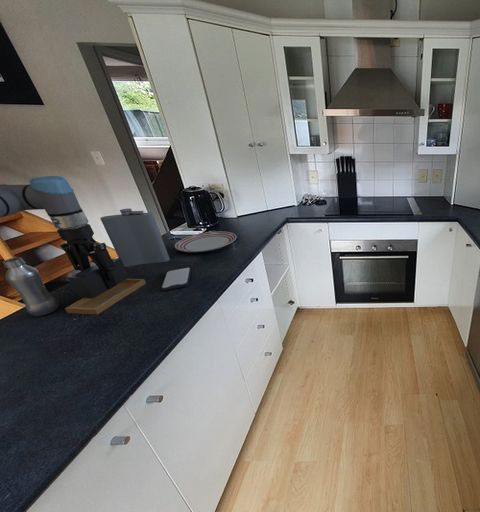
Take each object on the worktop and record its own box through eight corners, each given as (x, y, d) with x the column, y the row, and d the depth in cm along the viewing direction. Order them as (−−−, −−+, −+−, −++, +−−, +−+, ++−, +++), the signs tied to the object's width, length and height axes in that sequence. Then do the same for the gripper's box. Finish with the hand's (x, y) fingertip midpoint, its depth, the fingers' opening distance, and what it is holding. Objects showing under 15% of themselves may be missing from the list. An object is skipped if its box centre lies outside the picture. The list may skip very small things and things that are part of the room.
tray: (67, 313, 91) (64, 308, 91) (120, 282, 109) (118, 278, 108) (97, 314, 91) (94, 309, 90) (146, 283, 109) (144, 279, 108)
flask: (171, 257, 129) (152, 206, 118) (168, 261, 125) (148, 208, 114) (126, 262, 124) (101, 209, 113) (121, 267, 120) (95, 212, 109)
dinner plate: (199, 235, 155) (198, 229, 153) (247, 236, 154) (245, 230, 152) (162, 256, 130) (160, 250, 128) (218, 258, 129) (217, 251, 128)
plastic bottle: (38, 309, 93) (2, 257, 84) (65, 304, 96) (33, 253, 87) (27, 321, 88) (-13, 266, 79) (56, 315, 90) (21, 262, 82)
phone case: (167, 274, 115) (161, 292, 103) (166, 271, 115) (160, 289, 102) (192, 269, 119) (189, 286, 107) (191, 266, 119) (188, 283, 106)
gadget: (117, 276, 105) (107, 257, 101) (129, 277, 105) (120, 258, 101) (79, 298, 92) (66, 277, 89) (93, 298, 92) (81, 277, 88)
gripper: (32, 229, 85) (70, 291, 95) (87, 231, 84) (119, 293, 94) (59, 221, 91) (91, 280, 102) (110, 222, 91) (138, 282, 101)
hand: (105, 286), depth 98 cm, fingers closed on gadget, 5 cm apart
